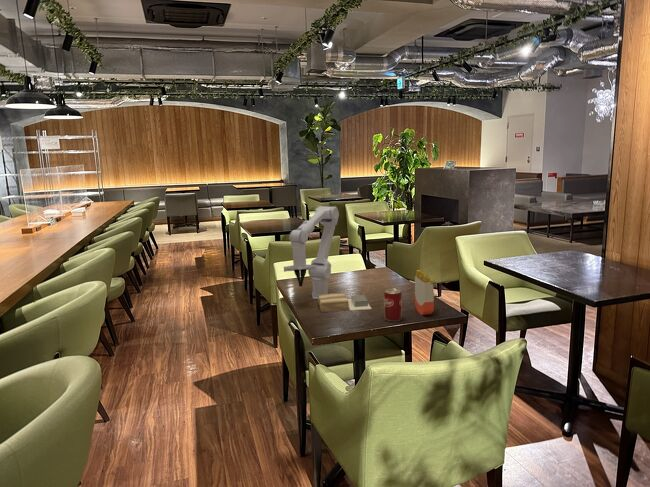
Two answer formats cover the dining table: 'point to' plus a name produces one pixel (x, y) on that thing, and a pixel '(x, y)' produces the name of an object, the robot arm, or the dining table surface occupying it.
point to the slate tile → (359, 300)
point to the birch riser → (333, 302)
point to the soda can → (392, 305)
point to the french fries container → (424, 293)
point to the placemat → (353, 308)
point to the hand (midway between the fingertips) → (300, 285)
